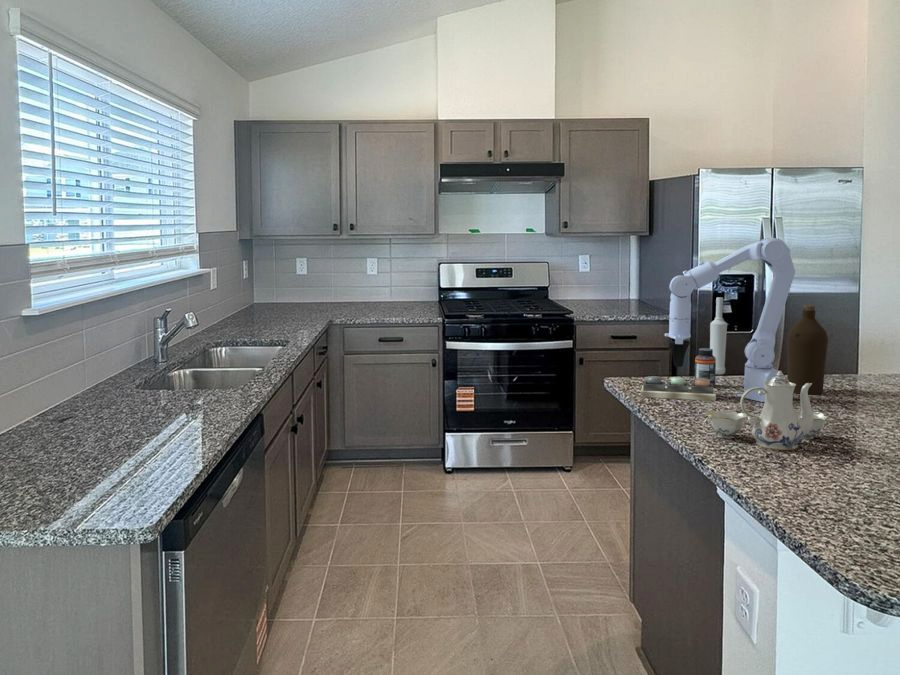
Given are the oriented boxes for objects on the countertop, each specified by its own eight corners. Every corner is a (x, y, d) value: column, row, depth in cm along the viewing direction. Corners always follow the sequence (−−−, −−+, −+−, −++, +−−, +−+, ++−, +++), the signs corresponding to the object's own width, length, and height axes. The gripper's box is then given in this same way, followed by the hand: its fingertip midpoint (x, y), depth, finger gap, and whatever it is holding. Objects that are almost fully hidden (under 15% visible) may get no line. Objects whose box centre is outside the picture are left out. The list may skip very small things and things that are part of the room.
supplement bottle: (698, 383, 237) (700, 347, 235) (718, 385, 233) (719, 348, 232) (691, 386, 232) (692, 349, 231) (710, 388, 228) (712, 350, 227)
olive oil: (824, 396, 216) (829, 307, 213) (783, 393, 221) (787, 306, 218) (825, 390, 225) (830, 304, 222) (785, 387, 230) (789, 303, 227)
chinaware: (816, 438, 177) (816, 366, 177) (856, 450, 161) (856, 371, 160) (695, 440, 176) (695, 367, 176) (724, 452, 160) (724, 372, 159)
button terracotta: (709, 385, 218) (709, 378, 218) (709, 388, 214) (710, 381, 214) (694, 384, 219) (694, 377, 219) (694, 387, 215) (694, 380, 215)
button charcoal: (661, 383, 222) (661, 376, 221) (661, 385, 218) (661, 378, 218) (647, 382, 223) (647, 375, 223) (646, 385, 219) (646, 378, 219)
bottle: (713, 371, 258) (715, 296, 255) (728, 373, 255) (730, 297, 251) (705, 373, 255) (708, 297, 252) (720, 375, 251) (723, 298, 248)
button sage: (685, 384, 220) (685, 377, 220) (685, 387, 216) (685, 379, 216) (670, 383, 221) (670, 376, 221) (670, 386, 217) (670, 379, 217)
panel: (714, 393, 221) (714, 382, 220) (715, 400, 211) (716, 388, 211) (642, 390, 226) (642, 379, 226) (640, 397, 217) (640, 385, 217)
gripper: (665, 315, 224) (664, 361, 226) (664, 320, 210) (663, 369, 212) (691, 316, 222) (689, 362, 224) (691, 321, 208) (689, 371, 210)
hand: (678, 366), depth 218 cm, fingers closed
